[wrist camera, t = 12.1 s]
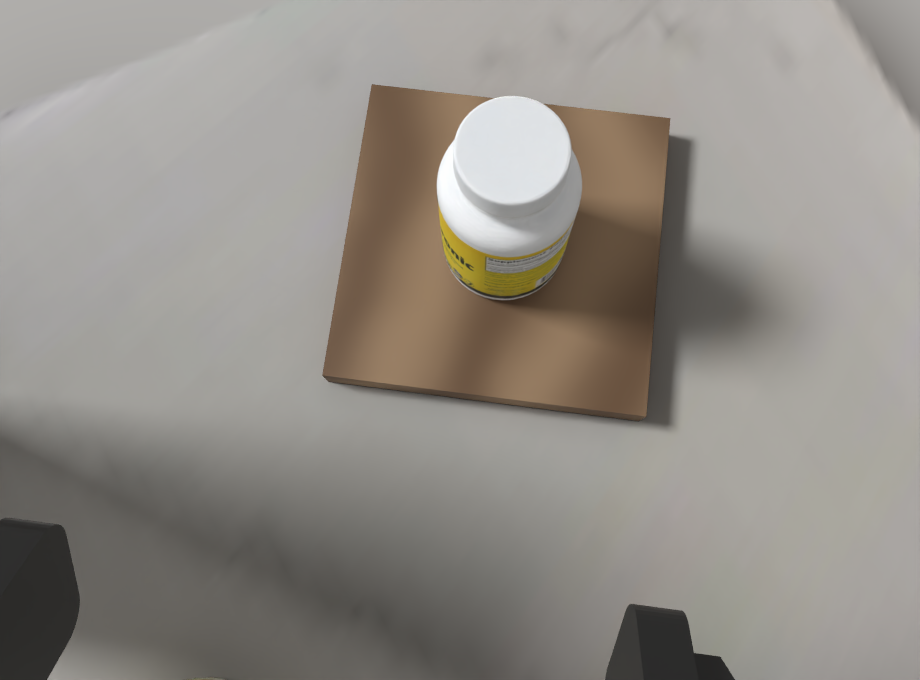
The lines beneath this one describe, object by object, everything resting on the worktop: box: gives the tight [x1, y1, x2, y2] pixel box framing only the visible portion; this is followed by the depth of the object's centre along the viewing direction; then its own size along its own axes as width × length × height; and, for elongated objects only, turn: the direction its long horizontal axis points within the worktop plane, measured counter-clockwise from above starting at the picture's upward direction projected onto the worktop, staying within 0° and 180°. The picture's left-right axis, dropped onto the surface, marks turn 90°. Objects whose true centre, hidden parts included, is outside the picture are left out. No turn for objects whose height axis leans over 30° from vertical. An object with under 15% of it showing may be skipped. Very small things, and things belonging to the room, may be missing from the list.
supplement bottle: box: [437, 96, 582, 300], centre depth 32 cm, size 5×5×10 cm
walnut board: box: [323, 84, 670, 421], centre depth 38 cm, size 14×14×2 cm
